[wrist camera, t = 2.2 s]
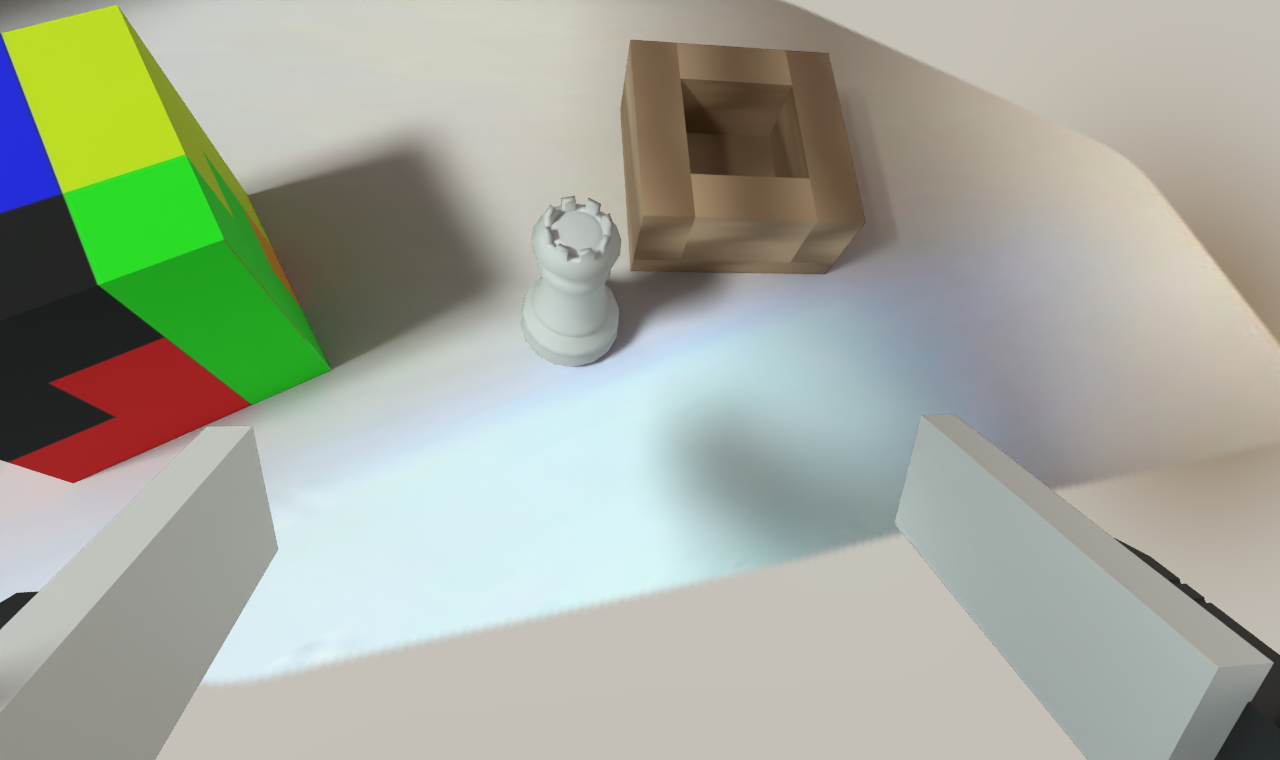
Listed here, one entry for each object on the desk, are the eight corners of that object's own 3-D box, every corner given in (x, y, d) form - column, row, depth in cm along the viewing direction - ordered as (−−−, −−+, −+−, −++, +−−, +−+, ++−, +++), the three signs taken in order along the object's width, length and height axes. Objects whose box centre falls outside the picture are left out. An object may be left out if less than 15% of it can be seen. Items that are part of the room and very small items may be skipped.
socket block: (630, 270, 32) (643, 215, 27) (620, 110, 35) (630, 39, 31) (825, 273, 33) (865, 221, 29) (796, 119, 37) (828, 53, 32)
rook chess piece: (564, 267, 31) (570, 152, 24) (637, 323, 31) (666, 223, 23) (500, 329, 29) (485, 227, 22) (575, 390, 29) (586, 306, 22)
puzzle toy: (5, 280, 27) (-270, 99, 18) (247, 196, 30) (117, 4, 21) (74, 483, 25) (-205, 394, 16) (331, 370, 28) (224, 239, 19)
